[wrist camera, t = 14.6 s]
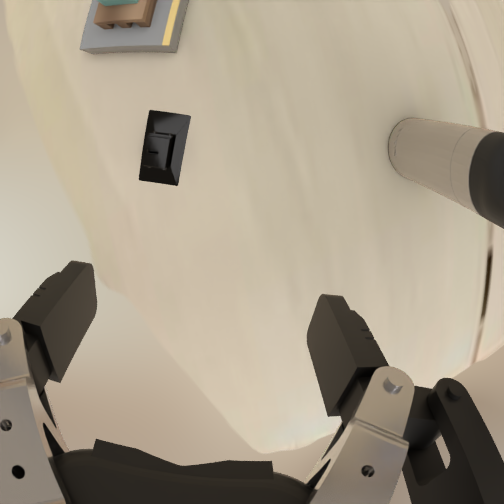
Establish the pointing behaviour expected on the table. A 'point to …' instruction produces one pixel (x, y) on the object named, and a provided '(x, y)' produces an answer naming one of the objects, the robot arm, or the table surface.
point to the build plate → (164, 147)
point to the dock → (137, 31)
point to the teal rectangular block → (117, 2)
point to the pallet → (125, 14)
